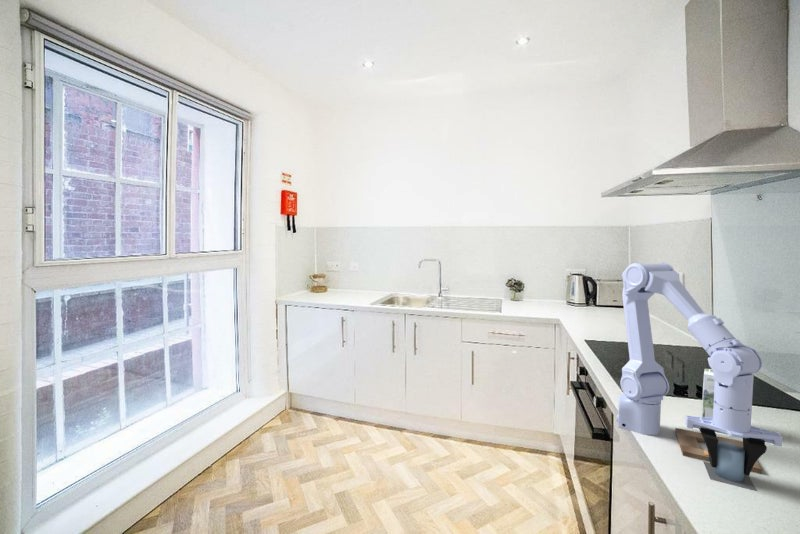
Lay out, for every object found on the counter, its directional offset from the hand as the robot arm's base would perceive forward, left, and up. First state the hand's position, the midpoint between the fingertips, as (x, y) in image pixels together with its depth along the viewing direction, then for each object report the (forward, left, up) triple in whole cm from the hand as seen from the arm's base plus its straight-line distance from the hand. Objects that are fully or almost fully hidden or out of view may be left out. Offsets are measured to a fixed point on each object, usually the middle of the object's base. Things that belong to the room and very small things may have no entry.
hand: (728, 468), depth 74 cm
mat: (0, 0, -2) cm, 2 cm away
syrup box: (+3, +28, -3) cm, 28 cm away
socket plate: (0, +10, -2) cm, 10 cm away
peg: (0, 0, -1) cm, 1 cm away
